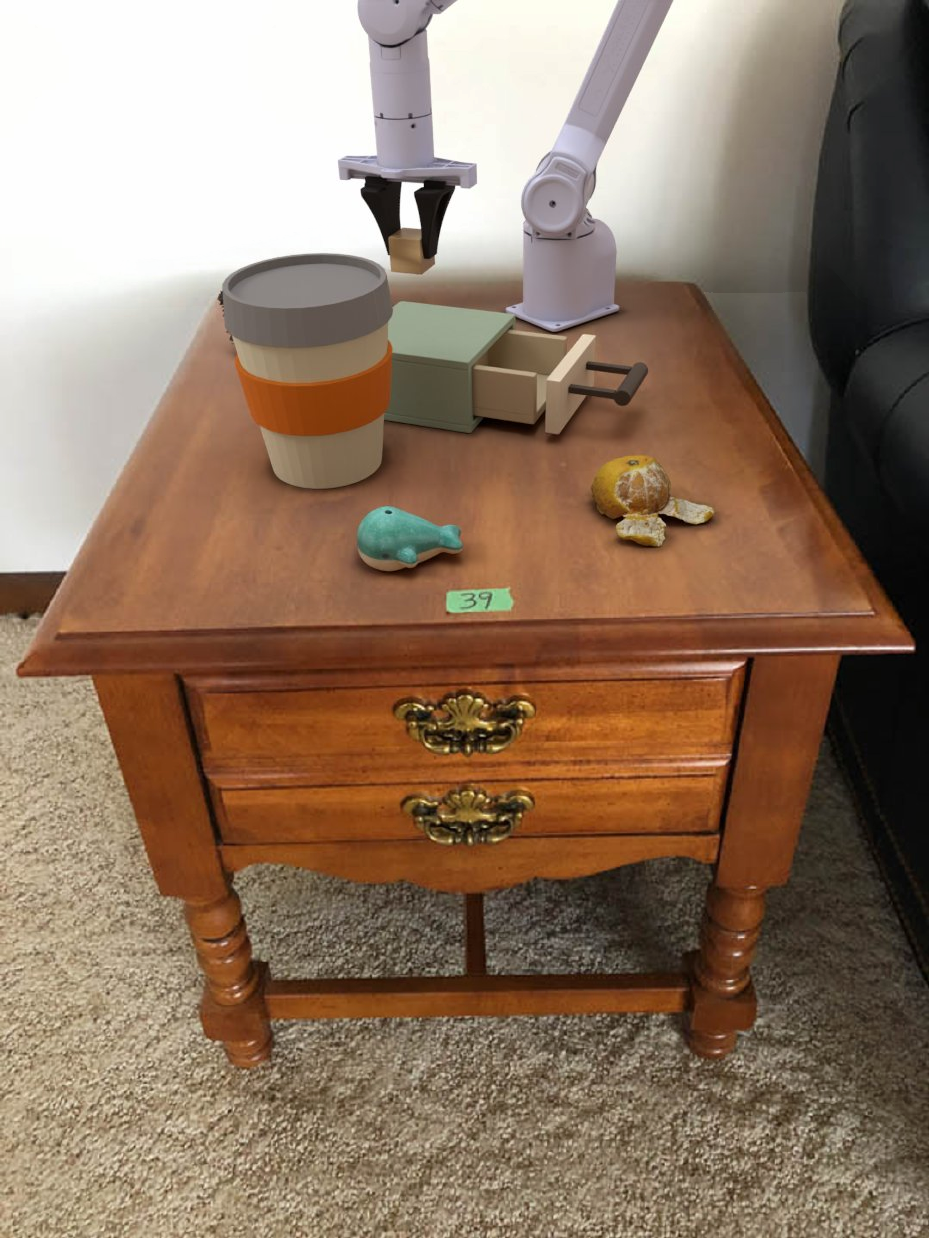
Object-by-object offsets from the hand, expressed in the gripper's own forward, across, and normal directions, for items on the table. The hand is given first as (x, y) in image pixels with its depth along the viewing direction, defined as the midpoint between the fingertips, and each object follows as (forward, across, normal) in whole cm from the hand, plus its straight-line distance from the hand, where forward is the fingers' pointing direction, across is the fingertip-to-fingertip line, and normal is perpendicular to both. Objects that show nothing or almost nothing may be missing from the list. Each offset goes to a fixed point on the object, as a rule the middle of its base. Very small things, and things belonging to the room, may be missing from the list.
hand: (412, 254), depth 109 cm
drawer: (+5, +22, -20) cm, 30 cm away
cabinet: (+6, +11, -20) cm, 24 cm away
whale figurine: (+6, +20, -45) cm, 50 cm away
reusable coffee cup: (+6, +8, -34) cm, 36 cm away
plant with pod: (+2, -7, -16) cm, 18 cm away
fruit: (+6, +34, -35) cm, 49 cm away
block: (+1, 0, 0) cm, 1 cm away
